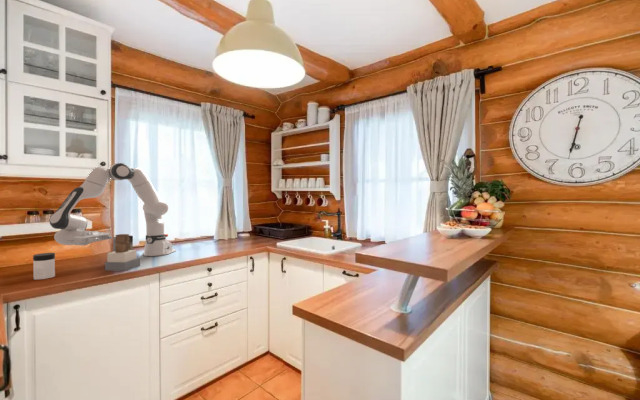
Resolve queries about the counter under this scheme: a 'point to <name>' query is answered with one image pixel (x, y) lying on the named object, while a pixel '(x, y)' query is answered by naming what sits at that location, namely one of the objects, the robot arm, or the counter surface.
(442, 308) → the counter surface
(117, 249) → the walnut block
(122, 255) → the tower top
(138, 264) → the tower base
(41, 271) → the jar
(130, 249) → the coffee box
